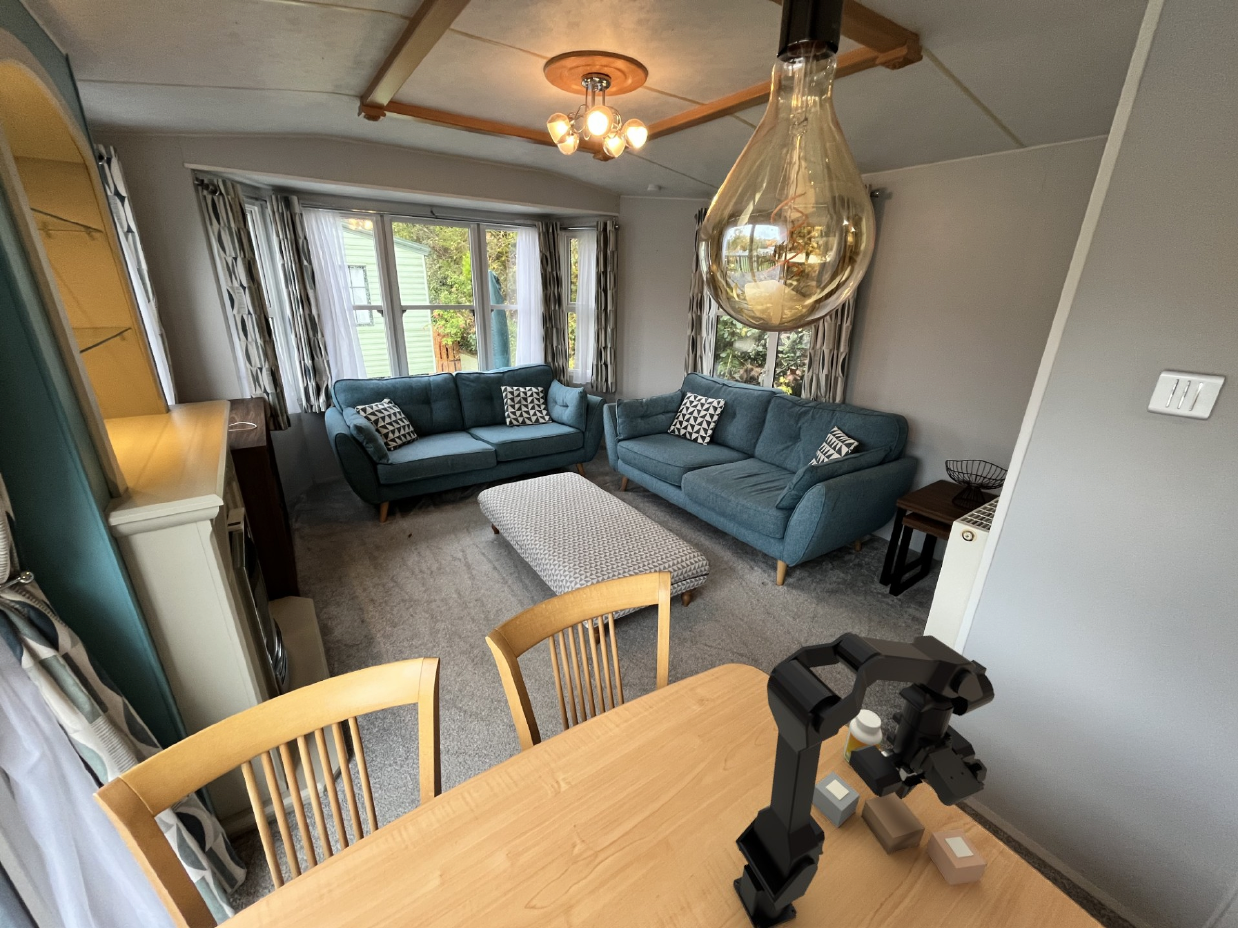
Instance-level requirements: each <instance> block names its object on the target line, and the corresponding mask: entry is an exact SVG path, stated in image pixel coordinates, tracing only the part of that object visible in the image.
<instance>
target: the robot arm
mask: <svg viewBox="0 0 1238 928" xmlns="http://www.w3.org/2000/svg"><path fill="white" fill-rule="evenodd" d="M838 664H841V665H843V666H844V667H845V668H847V670H849V672H851V673H852V674H853V675H854V676H855V680H854V683H853V688H852V690H851V692H850V693H849V694H847V695H846V696H844V697H843V698H842V697H841V696H840V695H839V694H838V693H837V692H836V691H835V690H834V689H833V688H831V687H830V686H829V684H827V682H825V681H824V680H823V679H822V678H821V677H820V676H819V675H818V674H817V673H816V672H815V671H813V670H812V668H813V669H814V668H818V667H819V668H820V667H826V666H834V665H838ZM986 672H987V667H986V666H984V665H983V664H981V663H979V662H978V661H977V660H975V659H972V660H970V659H968V658H967V657H965V656H963V655H962V654H961V653H959V652H958V651H956V650H955V649H953V648H952V647H950V646H949V645H947V644H945V643H944V642H942V641H941V640H940V639H938V638H937V637H935V636H933V635H930V634H929V635H928V634H927V635H919V636H914V637H913V639H912V641H911V642H909V643H908V642H901V641H895V640H894V641H893V640H887V639H880V638H874V637H867V636H861V635H859V634H857V633H853V632H851V631H848V632H845V633H843V634H841V635H839V636H838V637H837V638H835V639H834V640H833V641H831V642H826V643H818V644H812V645H806V646H802V647H800V648H799V649H798V650H796V651H794V652H793V653H791V654H790V655H789V656H786V657H785V659H783V660H782V661H780V662H779V663H777V665H776V666H774V667H773V668H772V670H771V671H770V674H769V677H768V679H767V683H766V693H767V703H768V707H769V710H770V712H771V715H772V717H773V720H774V722H775V724H776V726H777V731H778V733H777V740H776V751H775V758H774V768H773V777H772V784H771V785H772V786H771V795H770V804H769V805H767V806H765V807H763V808H761V809H760V810H758V811H757V815H756V817H755V818H754V819H753V820H752V821H751V822H750V823H749V824H748V826H747V827H746V828H745V829H744V830H743V831H742V833H741V834H740V835H739V836H738V837H737V838H736V840H735V844H736V847H737V849H738V851H739V852H740V853H741V855H742V857H743V858H744V860H745V861H746V862H747V864H744V865H743V870H742V876H740V877H738V878H735V879H734V880H733V882H732V883H733V884H732V885H733V888H734V890H735V892H736V894H737V896H738V898H739V900H740V902H741V904H742V906H743V908H744V910H745V912H746V915H747V916H748V918H749V920H750V922H751V925H752V926H753V928H758V927H759V928H775V927H777V926H779V925H781V924H784V923H785V922H788V921H791V920H793V919H795V918H796V917H797V910H796V908H795V906H794V905H793V902H795V901H797V900H798V899H800V898H802V897H803V896H805V894H806V892H807V890H808V889H809V887H810V884H811V883H812V881H813V880H814V877H815V876H816V874H817V872H818V870H819V866H818V864H819V861H820V856H822V855H824V851H823V846H824V843H825V841H826V835H825V831H824V829H822V827H821V825H820V824H819V823H818V822H817V821H816V819H815V818H814V817H813V816H812V814H811V813H812V806H813V804H812V801H813V795H814V788H815V785H816V782H817V775H818V768H819V761H820V755H821V750H822V749H821V747H822V744H823V742H825V741H827V740H829V739H831V738H832V737H835V736H837V735H838V734H839V732H840V729H842V727H845V726H846V724H848V723H849V722H851V721H852V720H853V719H854V718H856V716H857V715H858V714H859V713H860V710H862V706H863V703H864V699H865V695H866V691H867V690H868V688H869V687H871V686H872V685H873V684H874V683H876V682H877V681H884V682H900V683H909V684H908V685H907V686H904V687H903V688H901V689H900V690H899V692H898V695H899V697H901V698H902V699H903V700H904V701H903V705H902V708H901V710H900V711H897V712H894V713H893V714H892V718H891V720H893V721H894V722H895V724H897V725H896V727H895V728H896V729H895V731H893V732H890V733H887V734H886V735H887V736H886V740H887V742H888V743H890V745H891V746H892V748H891V747H888V748H885V749H883V750H880V748H879V749H878V748H877V747H876V746H875V745H867V746H864V747H861V748H858V749H855V750H852V751H851V754H850V758H849V762H848V765H849V766H850V768H852V769H853V771H854V772H855V773H856V774H857V775H858V776H859V778H860V780H862V782H863V783H864V784H865V785H866V786H867V787H868V789H870V791H871V792H872V794H874V795H875V796H876V797H883V796H886V795H889V794H891V793H894V792H895V793H896V795H897V796H898V797H899V798H900V799H902V800H903V799H905V798H906V797H908V795H909V794H910V793H911V792H912V791H913V790H914V789H915V788H916V787H917V786H918V785H920V784H923V783H924V781H923V780H925V781H927V782H928V784H929V785H930V786H931V788H932V789H933V791H934V792H935V794H936V796H937V798H938V800H939V801H940V803H942V804H943V805H944V806H947V807H951V806H952V807H953V806H954V805H956V804H958V803H961V802H963V801H967V800H968V799H969V798H971V797H973V796H974V795H976V794H977V793H979V792H981V791H983V790H984V789H985V788H984V787H985V783H984V781H985V780H986V777H987V771H988V767H986V765H985V764H984V763H983V762H982V761H981V759H980V758H975V757H976V752H975V749H974V747H973V745H972V743H971V742H969V741H968V739H967V738H966V737H964V736H963V735H962V734H960V733H959V732H958V731H957V730H956V729H955V728H953V726H951V725H950V721H951V718H952V715H956V716H958V717H962V716H964V715H966V714H969V713H971V712H973V711H975V710H977V709H979V708H982V707H983V706H986V705H987V704H990V703H991V702H993V700H994V698H995V695H996V694H995V691H994V687H993V683H992V682H991V680H990V678H989V677H988V676H987V675H986Z"/></svg>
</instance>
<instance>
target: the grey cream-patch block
mask: <svg viewBox="0 0 1238 928" xmlns="http://www.w3.org/2000/svg"><path fill="white" fill-rule="evenodd" d="M860 796H861V794H860V793H859V792H858V791H856V790H855V789H854V788H853V787H852V786H851V785H850V784H848V782H846V781H845V780H844V779H843V778H841V776H839V775H838V773H836V772H835V771H831V772H829V774H827V775H826V776H825V777H824V778H823V779H821V780H820V781H818V782H817V784H816V783H815V788H814V795H813V801H812V806H814V807H815V808H816V809H817V810H818V811H819V812H820V813H821V814H822V815H823V816H824V817H826V819H828V820H829V822H831V824H833V825H834V826H835V827H836V828H839V827H840V826H841V825H842V824H843V823H844V822H845V821H847V819H849V818H850V817H851V816H852V815H853V814H854V813H855V812H856V810H857V807H858V803H859V800H860Z"/></svg>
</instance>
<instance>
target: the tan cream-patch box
mask: <svg viewBox="0 0 1238 928" xmlns="http://www.w3.org/2000/svg"><path fill="white" fill-rule="evenodd" d="M925 852H926V853H927V854H928V856H929V857H930V859H931V860H932V861H933V863H934V865H935V867H936V868H937V870H938V871H939V872H940V874H941V875H942V876H943V879H944V880H945V881H946V883H947V885H948V886H955V885H956V886H957V885H964V884H967V883H968V884H969V883H976V882H981V879H982V877H983V875H984V872H985V869H986V867H987V866H988V862H987V861H986V860H985V858H984V857H983V856H982V855H981V853H980V852H979V851H978V849H977V848H976V847H975V845H974V844H973V842H972V841H971V839H969V837H968V836H967V834H966V833H965V832H964V831H963V829H962V828H957V829H948V830H940V831H934V832H933V831H932V832H931V833H930V835H929V839H928V842H927V845H926V846H925Z"/></svg>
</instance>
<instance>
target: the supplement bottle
mask: <svg viewBox="0 0 1238 928" xmlns="http://www.w3.org/2000/svg"><path fill="white" fill-rule="evenodd" d="M849 722H850V723H849V726H848V730H847V733H846V734H847V735H846V737H845V741H844V746H843V756H844V758H845V760H846V761H847V763H849V758H850V754H851V751H852V750H855V749H858V748H861V747H864V746H867V745H875V746H876V747H877V748H878V749H879V750H880V747H881V743H882V740H883V732H882V730H881V727H882V720H881V718H880V716H878V714H877V713H875V712H874V711H871V710H868V709H861V710H860V713H859V714H858V715H857V716H856V717H855V718H853V719H852V720H851V721H849Z"/></svg>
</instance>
